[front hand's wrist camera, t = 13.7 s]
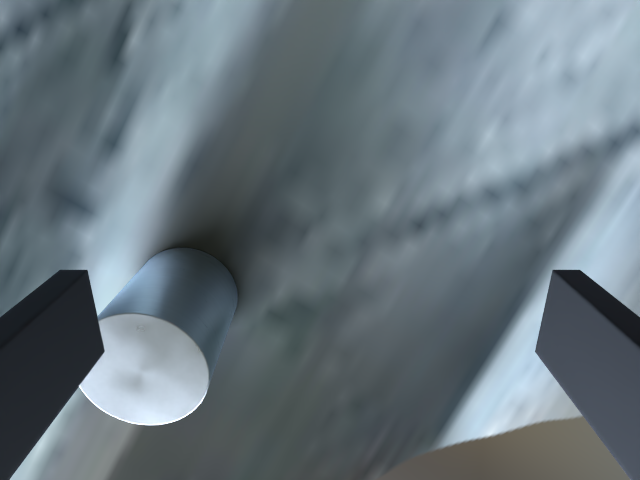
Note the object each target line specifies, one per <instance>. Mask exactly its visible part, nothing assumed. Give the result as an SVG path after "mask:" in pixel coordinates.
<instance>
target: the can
mask: <svg viewBox="0 0 640 480" xmlns="http://www.w3.org/2000/svg"><path fill="white" fill-rule="evenodd" d="M237 302H238V293H237V287H236V284H235V281H234V279H233V277H232V275H231V273H230V272H229V271H228V269H227V268H226V267H225V266H224V265H223V264H222V263H221V262H220V261H219V260H217V259H216V258H214V257H213V256H211V255H209V254H207V253H205V252H203V251H200V250H196V249H192V248H173V249H168V250H165V251H162V252H160V253H158V254H156V255H155V256H153V257H152V258H151V259H149V260H148V261H147V262H146V263H145V265H144V266H143V267H142V268H141V269H140V270H139V271H138V272H137V273H136V275H135V276H134V277H133V278H132V279H131V280H130V281H129V282H128V283H127V284H126V286H125V287H124V288H123V289H122V290H121V291H120V292H119V293H118V294H117V296H116V297H115V298H114V299H113V300H112V301H111V302H110V303H109V304H108V306H107V307H106V308H105V309H104V310H103V311H102V312H101V313H100V314H99V315H98V322H99V327H100V331H101V336H102V341H103V345H104V350H105V352H104V353H103V355H102V356H101V358H100V359H99V360H98V362H97V363H96V364H95V366H94V367H93V368H92V370H91V371H90V372H89V374H88V375H87V376H86V378H85V379H84V380H83V382H82V383H81V384H80V388H81V389H82V391H83V392H84V394H85V395H86V396H87V397H88V398H89V399H90V400H91V401H92V402H93V403H94V404H95V405H96V406H97V407H99V408H100V409H101V410H103V411H104V412H106V413H108V414H110V415H111V416H113V417H116V418H118V419H121V420H123V421H127V422H130V423H135V424H142V425H159V424H166V423H170V422H173V421H176V420H179V419H181V418H183V417H185V416H187V415H188V414H189V413H191V412H192V411H193V410H194V409H196V408H197V407H198V405H199V404H200V403H201V402H202V400H203V399H204V397H205V395H206V392H207V390H208V387H209V384H210V381H211V378H212V376H213V373H214V370H215V367H216V364H217V361H218V359H219V356H220V353H221V350H222V347H223V344H224V342H225V339H226V336H227V333H228V330H229V327H230V324H231V322H232V319H233V316H234V313H235V310H236V307H237Z"/></svg>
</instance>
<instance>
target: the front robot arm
mask: <svg viewBox="0 0 640 480" xmlns="http://www.w3.org/2000/svg"><path fill="white" fill-rule="evenodd" d="M104 352H105V350H104V345H103V341H102V336H101V331H100V327H99V322H98V317H97V313H96V308H95V303H94V299H93V294H92V289H91V285H90V280H89V276H88V271H87V270H59V271H58V272H57V273H56V274H54V275H53V276H52V277H51V278H49V279H48V280H47V281H46V282H44V283H43V284H42V285H41V286H39V287H38V288H37V289H35V290H34V291H33V292H32V293H30V294H29V295H28V296H27V297H25V298H24V299H23V300H22V301H20V302H19V303H18V304H17V305H15V306H14V307H13V308H12V309H10V310H9V311H8V312H6V313H5V314H4V315H3V316H1V317H0V480H9V479H10V478H11V477H12V475H13V474H14V473H15V471H16V470H17V469H18V467H19V466H20V465H21V463H22V462H23V461H24V459H25V458H26V457H27V455H28V454H29V453H30V451H31V450H32V449H33V447H34V446H35V444H36V443H37V442H38V440H39V439H40V438H41V436H42V435H43V434H44V432H45V431H46V430H47V428H48V427H49V426H50V424H51V423H52V422H53V420H54V419H55V418H56V416H57V415H58V414H59V412H60V411H61V410H62V408H63V407H64V406H65V404H66V403H67V402H68V400H69V399H70V398H71V396H72V395H73V394H74V392H75V391H76V390H77V388H78V387H79V386H80V384H81V383H82V382H83V380H84V379H85V378H86V376H87V375H88V374H89V372H90V371H91V370H92V368H93V367H94V366H95V364H96V363H97V362H98V360H99V359H100V358H101V356H102V355H103V353H104ZM535 352H536V353H537V355H538V356H539V358H540V359H541V360H542V362H543V363H544V364H545V366H546V367H547V368H548V370H549V371H550V372H551V374H552V375H553V376H554V378H555V379H556V380H557V382H558V383H559V384H560V386H561V387H562V388H563V390H564V391H565V392H566V394H567V395H568V396H569V398H570V399H571V400H572V402H573V403H574V404H575V406H576V407H577V408H578V410H579V411H580V412H581V414H582V415H583V416H584V418H585V419H586V420H587V422H588V423H589V424H590V426H591V427H592V428H593V430H594V431H595V432H596V434H597V435H598V436H599V438H600V439H601V440H602V442H603V443H604V444H605V446H606V447H607V449H608V450H609V451H610V453H611V454H612V455H613V457H614V458H615V459H616V460H617V462H618V463H619V465H620V466H621V467H622V469H623V470H624V471H625V473H626V474H627V475H628V477H629V478H630V479H631V480H640V317H639V316H637V315H636V314H635V313H634V312H632V311H631V310H630V309H628V308H627V307H626V306H625V305H623V304H622V303H621V302H620V301H618V300H617V299H616V298H615V297H613V296H612V295H611V294H610V293H608V292H607V291H606V290H605V289H603V288H602V287H601V286H599V285H598V284H597V283H596V282H594V281H593V280H592V279H591V278H589V277H588V276H587V275H586V274H584V273H583V272H582V271H581V270H553V271H552V276H551V280H550V285H549V289H548V294H547V299H546V303H545V308H544V313H543V317H542V322H541V327H540V331H539V336H538V341H537V345H536V350H535Z"/></svg>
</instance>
